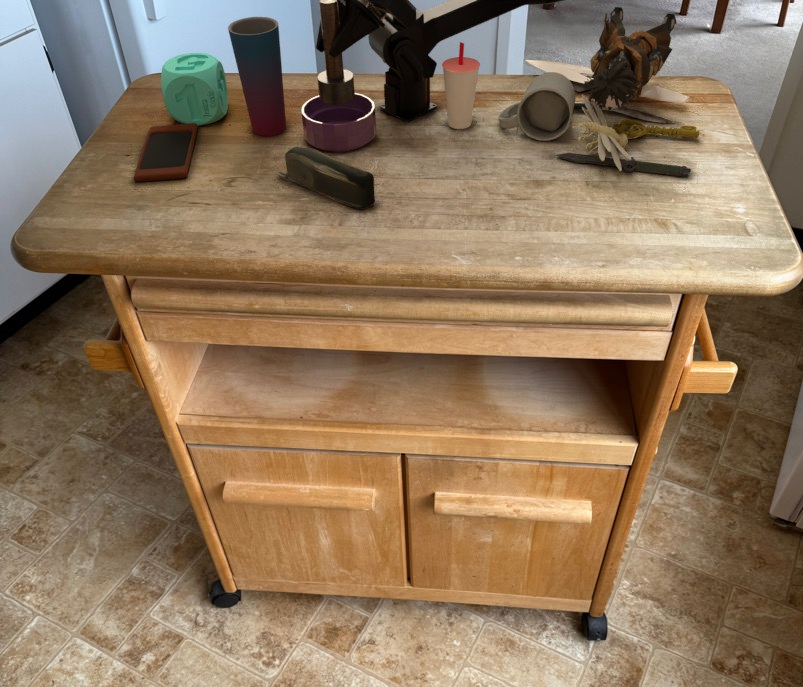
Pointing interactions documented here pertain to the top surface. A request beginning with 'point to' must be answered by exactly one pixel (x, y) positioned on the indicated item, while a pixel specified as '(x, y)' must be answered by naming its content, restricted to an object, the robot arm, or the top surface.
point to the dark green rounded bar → (330, 177)
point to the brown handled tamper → (333, 61)
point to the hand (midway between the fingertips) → (324, 53)
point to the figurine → (626, 60)
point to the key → (653, 130)
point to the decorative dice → (194, 88)
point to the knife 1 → (576, 75)
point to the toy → (603, 134)
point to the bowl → (339, 123)
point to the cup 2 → (460, 88)
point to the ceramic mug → (542, 108)
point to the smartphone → (166, 152)
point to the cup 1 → (260, 72)
